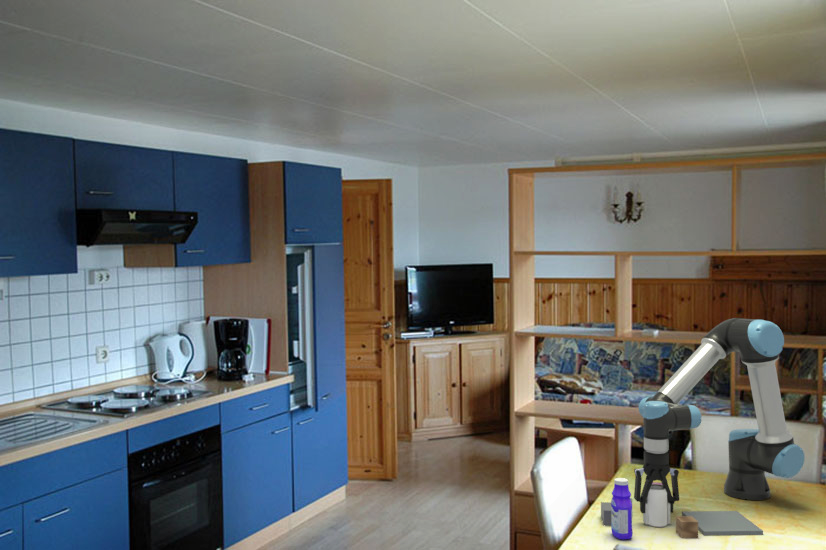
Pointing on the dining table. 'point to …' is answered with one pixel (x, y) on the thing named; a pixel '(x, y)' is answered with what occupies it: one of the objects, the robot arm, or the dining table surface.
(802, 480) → the dining table surface
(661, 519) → the can
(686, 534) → the walnut block
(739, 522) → the board
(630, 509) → the bottle
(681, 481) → the dining table surface
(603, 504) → the charcoal block
